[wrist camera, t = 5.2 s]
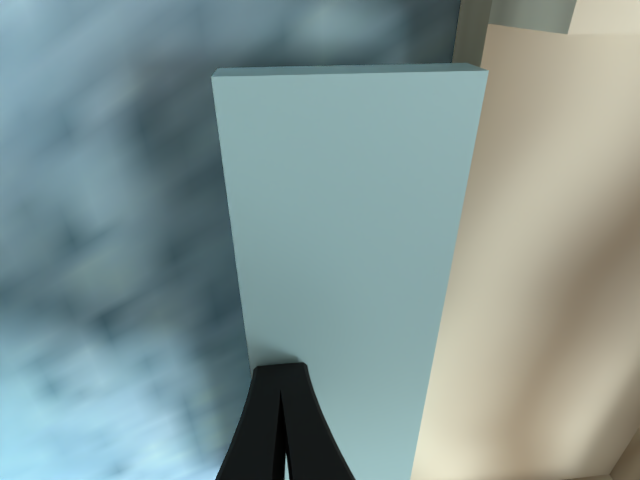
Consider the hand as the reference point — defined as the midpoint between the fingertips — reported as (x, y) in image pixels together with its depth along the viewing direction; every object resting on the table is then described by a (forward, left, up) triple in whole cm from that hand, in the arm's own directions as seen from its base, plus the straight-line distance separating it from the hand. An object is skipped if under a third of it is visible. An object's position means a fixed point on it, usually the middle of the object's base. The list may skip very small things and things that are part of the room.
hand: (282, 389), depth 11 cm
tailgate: (-4, 0, -1) cm, 5 cm away
